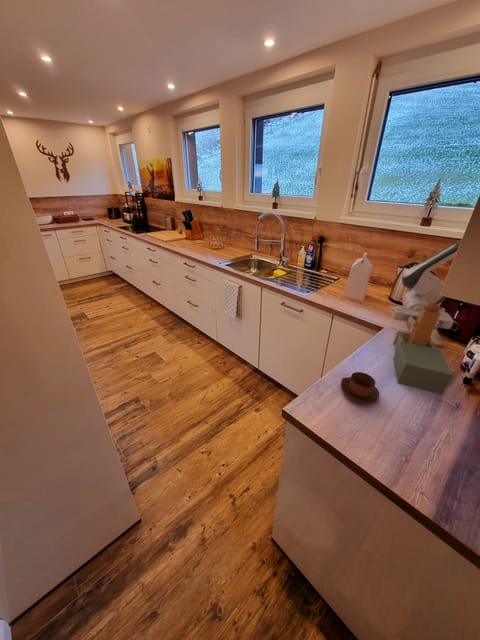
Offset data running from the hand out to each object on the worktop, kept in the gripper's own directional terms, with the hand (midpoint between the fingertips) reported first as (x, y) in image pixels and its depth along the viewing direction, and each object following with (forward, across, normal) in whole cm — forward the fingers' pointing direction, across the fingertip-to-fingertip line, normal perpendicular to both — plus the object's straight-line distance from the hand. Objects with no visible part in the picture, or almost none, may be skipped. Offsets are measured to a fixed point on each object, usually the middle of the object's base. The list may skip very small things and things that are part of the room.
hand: (425, 326), depth 99 cm
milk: (-61, -22, +15) cm, 67 cm away
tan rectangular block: (-1, 0, +10) cm, 11 cm away
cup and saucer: (+30, -20, +15) cm, 39 cm away
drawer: (-3, 0, +14) cm, 15 cm away
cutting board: (-24, +9, +15) cm, 30 cm away
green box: (+11, 0, +15) cm, 19 cm away
